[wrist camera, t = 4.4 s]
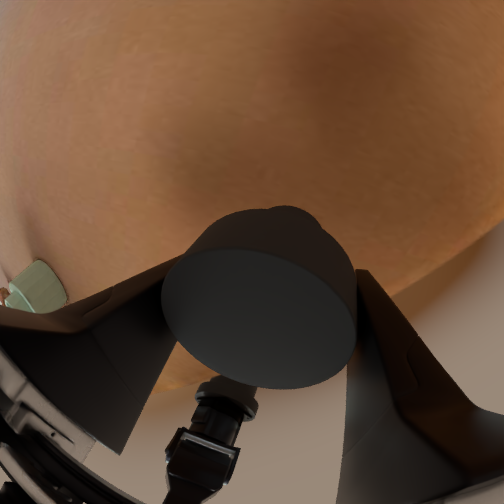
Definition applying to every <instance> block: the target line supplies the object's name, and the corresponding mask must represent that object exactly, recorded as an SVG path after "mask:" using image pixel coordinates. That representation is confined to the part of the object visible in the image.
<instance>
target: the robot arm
mask: <svg viewBox="0 0 504 504" xmlns="http://www.w3.org/2000/svg"><path fill="white" fill-rule="evenodd" d="M182 255H183V254H182ZM182 255H180V256H178V257H175V258H173V259H171V260H169V261H166V262H164V263H162V264H160V265H157V266H155V267H153V268H151V269H149V270H146V271H144V272H142V273H140V274H138V275H135V276H133V277H131V278H129V279H127V280H125V281H122V282H120V283H118V284H116V285H114V287H113V286H112V287H109V288H107V289H105V290H103V291H101V292H99V293H96V294H94V295H92V296H90V297H87V298H85V299H82V300H80V301H77V302H75V303H72V304H70V305H68V306H65V307H63V308H60V309H58V310H55V311H52V312H49V313H42V314H40V313H33V312H28V311H23V310H19V309H15V308H10V307H6V306H2V305H0V466H1V468H2V469H3V470H4V472H5V473H6V474H7V475H8V477H9V478H10V479H11V481H12V482H4V484H3V486H2V488H1V490H0V504H83V502H85V503H86V504H145V503H143V502H141V501H139V500H137V499H136V498H134V497H132V496H130V495H129V494H127V493H125V492H123V491H122V490H120V489H118V488H117V487H115V486H113V485H112V484H110V483H109V482H107V481H106V480H104V479H103V478H101V477H100V476H98V475H96V474H95V473H94V472H92V471H91V470H90V469H88V468H87V467H85V466H84V465H83V462H84V460H85V459H86V457H87V455H88V454H89V452H90V450H91V449H92V447H93V445H94V443H95V442H96V441H97V442H98V443H100V444H101V445H103V446H104V447H106V448H108V449H109V450H111V451H113V452H114V453H116V454H118V455H120V454H121V453H122V451H123V449H124V447H125V445H126V442H127V440H128V438H129V436H130V434H131V432H132V430H133V428H134V426H135V424H136V422H137V420H138V418H139V416H140V414H141V412H142V410H143V407H144V405H145V403H146V401H147V399H148V397H149V395H150V393H151V391H152V389H153V387H154V385H155V383H156V381H157V379H158V377H159V375H160V374H161V372H162V370H163V368H164V366H165V364H166V362H167V360H168V358H169V356H170V354H171V352H172V350H173V348H174V346H175V344H176V342H177V341H178V340H177V339H176V337H175V336H174V334H173V333H172V331H171V330H170V328H169V326H168V324H167V322H166V320H165V317H164V314H163V310H162V305H161V291H162V285H163V282H164V279H165V277H166V275H167V274H168V272H169V270H170V269H171V268H172V267H173V266H174V264H175V263H176V262H177V261H178V260H179V259H180V258H181V257H182ZM355 276H356V283H357V311H358V334H357V343H356V347H355V350H354V353H353V355H352V357H351V358H350V360H349V362H348V363H347V392H346V415H345V431H344V443H343V455H342V457H343V458H342V463H341V472H340V479H339V487H338V494H337V500H336V504H504V415H501V414H497V413H494V412H490V411H487V410H484V409H481V408H480V407H478V406H476V405H475V404H474V403H473V402H471V401H470V400H469V398H468V397H467V396H466V395H465V394H464V392H463V391H462V390H461V389H460V387H459V386H458V385H457V384H456V382H455V381H454V380H453V379H452V378H451V377H450V375H449V374H448V373H447V372H446V371H445V369H444V368H443V367H442V365H441V364H440V363H439V362H438V361H437V360H436V358H435V357H434V356H433V354H432V353H431V352H430V350H429V349H428V347H427V346H426V345H425V344H424V342H423V341H422V339H421V338H420V337H419V336H418V334H417V332H416V331H415V330H414V328H413V327H412V326H411V324H410V323H409V322H408V320H407V319H406V318H405V316H404V315H403V314H402V313H401V311H400V310H399V309H398V307H397V306H396V305H395V303H394V302H393V301H392V299H391V298H390V297H389V296H388V294H387V293H386V292H385V291H384V289H383V288H382V287H381V286H380V284H379V283H378V282H377V281H376V280H375V278H374V277H373V276H372V275H371V274H370V272H369V271H368V270H363V269H356V270H355ZM196 401H197V402H198V403H199V404H198V406H197V408H196V410H195V413H194V414H193V417H192V419H191V422H192V424H191V426H190V428H189V430H188V429H186V428H185V427H182V428H178V429H177V431H176V433H175V435H174V437H173V439H172V440H171V441H170V443H169V445H168V446H167V448H166V449H165V453H166V460H165V462H167V463H168V465H167V468H166V476H165V477H166V483H167V488H168V494H167V496H166V498H165V500H164V502H163V504H203V503H204V502H206V501H207V500H209V499H211V498H212V497H214V496H215V495H216V494H217V493H218V492H219V490H220V489H221V488H222V486H223V484H224V485H227V484H228V482H229V480H230V479H231V476H232V474H233V471H234V468H235V465H236V462H237V459H238V456H239V452H240V449H241V448H238V447H237V448H236V447H233V446H234V443H235V441H236V438H237V435H238V433H239V430H240V427H241V425H242V422H243V420H251V419H252V416H251V415H249V414H248V413H247V412H245V411H244V410H243V409H241V408H240V407H239V406H237V405H236V404H235V403H233V402H232V401H231V400H230V399H228V398H227V397H206V398H197V399H196ZM184 439H186V440H184ZM229 456H230V457H229Z"/></svg>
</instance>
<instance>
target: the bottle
mask: <svg viewBox="0 0 504 504" xmlns="http://www.w3.org/2000/svg"><path fill="white" fill-rule="evenodd" d="M9 287H10V291H11V294H10V295H9V296H8V297H7V298H6V299H5V304H6V306H7V307H10V308H15V309H19V310H23V311H28V312H33V313H40V314H42V313H49V312H52V311H55V310H58V309H60V308H61V307H62V306H63V305H64V304H65V303H66V301H67V297H66V293H65V291H64V288H63V286H62V284H61V282H60V281H59V279H58V278H57V276H56V275H55V273H54V272H53V271H52V270H51V268H50V267H49V266H48V265H47V264H46V263H44V262H43V261H41V260H36V261H35V262H33V263H32V264H31V265H29V266H28V267H27V268H26V269H25V270H23V271H22V272H21V273H20V274H19V275H18V276H16V277H15V278H14V279H13V280H12V281H11V282H10V283H9Z"/></svg>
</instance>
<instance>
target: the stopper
mask: <svg viewBox="0 0 504 504" xmlns="http://www.w3.org/2000/svg"><path fill="white" fill-rule="evenodd" d="M161 305H162V310H163V314H164V317H165V320H166V322H167V324H168V326H169V328H170V330H171V331H172V333H173V334H174V336H175V337H176V339H177V340H178V341H179V342H180V344H181V345H182V346H183V347H184V348H185V349H186V350H187V351H188V352H189V353H190V354H191V355H192V356H194V357H195V358H196V359H197V360H199V361H200V362H201V363H203V364H204V365H206V366H207V367H209V368H210V369H212V370H214V371H215V372H217V373H219V374H221V375H223V376H225V377H228V378H230V379H232V380H235V381H238V382H241V383H244V384H248V385H251V386H256V387H261V388H268V389H297V388H304V387H309V386H312V385H315V384H319V383H321V382H323V381H326V380H328V379H329V378H331V377H333V376H334V375H336V374H337V373H338V372H339V371H341V370H342V369H343V368H344V366H345V365H346V364H347V363H348V362H349V360H350V358H351V357H352V355H353V353H354V350H355V347H356V343H357V334H358V311H357V283H356V276H355V272H354V268H353V266H352V263H351V261H350V259H349V257H348V255H347V254H346V252H345V251H344V249H343V248H342V247H341V246H340V244H339V243H338V242H337V241H336V240H335V239H334V238H333V237H332V236H331V235H330V234H328V233H327V232H326V231H325V230H324V229H322V227H321V225H320V224H319V222H318V221H317V220H316V219H315V218H314V217H313V216H312V215H311V214H309V213H308V212H306V211H304V210H302V209H300V208H297V207H293V206H276V207H272V208H269V209H249V210H244V211H239V212H235V213H232V214H229V215H226V216H224V217H223V218H221V219H219V220H217V221H216V222H214V223H213V224H212V225H210V226H209V227H208V228H207V229H206V230H205V231H204V232H203V233H202V234H201V236H200V237H199V238H198V239H197V240H196V241H195V242H194V243H193V244H192V245H191V247H190V248H189V249H188V250H187V251H186V252H185V253H184V254H183V255H182V257H181V258H180V259H179V260H178V261H177V262H176V263H175V264H174V266H173V267H172V268H171V269H170V270H169V272H168V274H167V275H166V277H165V279H164V282H163V285H162V291H161Z"/></svg>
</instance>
